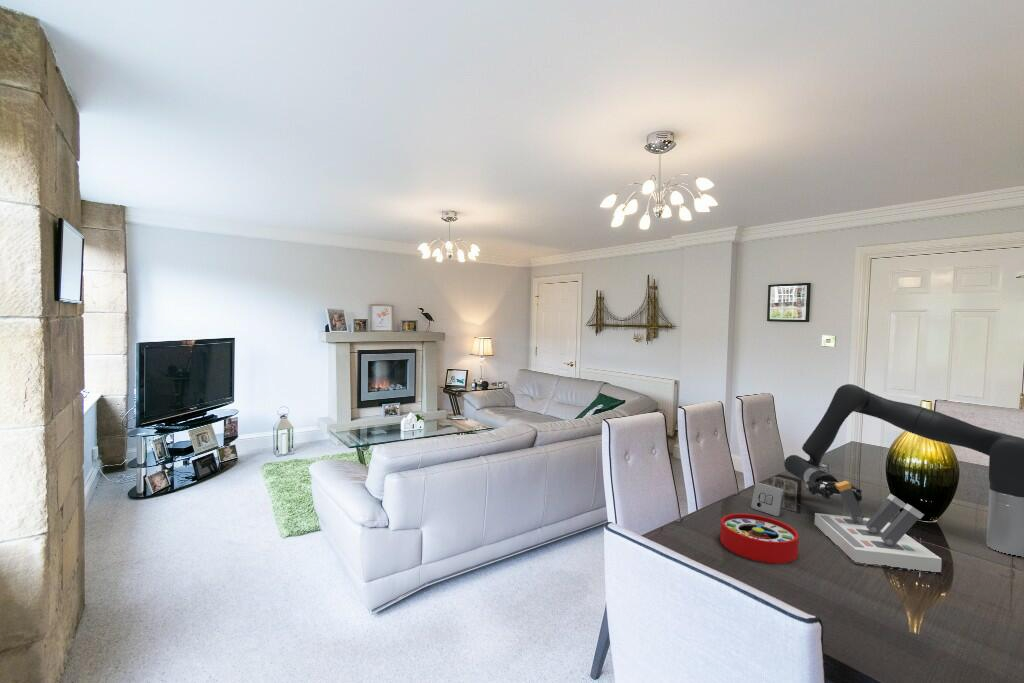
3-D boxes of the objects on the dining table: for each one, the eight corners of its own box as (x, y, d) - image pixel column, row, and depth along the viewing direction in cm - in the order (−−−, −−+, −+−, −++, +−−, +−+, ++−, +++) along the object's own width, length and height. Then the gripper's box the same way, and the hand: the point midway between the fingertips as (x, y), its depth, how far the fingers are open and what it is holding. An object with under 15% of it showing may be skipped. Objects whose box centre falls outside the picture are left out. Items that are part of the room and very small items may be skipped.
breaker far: (888, 544, 131) (918, 511, 129) (893, 548, 129) (924, 514, 127) (877, 536, 132) (906, 503, 130) (882, 540, 129) (912, 506, 127)
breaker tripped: (862, 517, 147) (845, 480, 147) (867, 520, 144) (849, 483, 145) (851, 520, 147) (834, 484, 148) (855, 523, 145) (838, 486, 145)
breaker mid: (872, 532, 139) (901, 501, 137) (877, 536, 136) (906, 504, 135) (862, 525, 140) (890, 493, 138) (867, 528, 137) (895, 496, 135)
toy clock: (716, 531, 133) (725, 508, 150) (715, 551, 133) (724, 526, 151) (799, 549, 123) (798, 523, 140) (798, 571, 123) (797, 542, 140)
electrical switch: (750, 508, 166) (752, 482, 166) (757, 507, 169) (760, 481, 169) (777, 517, 159) (780, 490, 159) (785, 516, 162) (787, 489, 162)
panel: (884, 532, 149) (885, 518, 149) (940, 574, 123) (941, 557, 123) (814, 525, 153) (815, 512, 153) (854, 564, 127) (855, 548, 127)
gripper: (797, 468, 162) (819, 483, 146) (843, 471, 159) (870, 487, 143) (797, 490, 162) (818, 507, 146) (843, 493, 159) (869, 511, 143)
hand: (844, 497), depth 145 cm, fingers open, 8 cm apart
